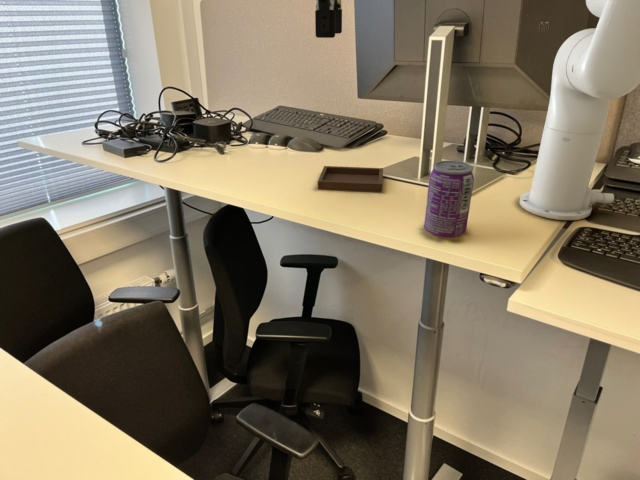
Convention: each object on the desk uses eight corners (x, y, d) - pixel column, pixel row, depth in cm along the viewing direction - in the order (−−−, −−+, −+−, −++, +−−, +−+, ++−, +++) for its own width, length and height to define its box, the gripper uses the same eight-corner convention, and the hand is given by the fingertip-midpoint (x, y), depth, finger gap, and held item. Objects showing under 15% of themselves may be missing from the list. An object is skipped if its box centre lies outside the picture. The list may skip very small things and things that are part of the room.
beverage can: (461, 224, 84) (471, 159, 79) (468, 242, 78) (479, 174, 72) (421, 222, 85) (428, 158, 79) (425, 240, 78) (433, 172, 73)
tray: (382, 176, 107) (383, 168, 106) (381, 192, 98) (382, 183, 97) (324, 173, 109) (324, 165, 108) (317, 189, 100) (317, 181, 99)
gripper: (347, -94, 65) (345, 39, 73) (357, -77, 80) (355, 32, 88) (295, -92, 66) (298, 39, 74) (314, -76, 81) (316, 32, 89)
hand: (329, 35), depth 81 cm, fingers open, 9 cm apart
